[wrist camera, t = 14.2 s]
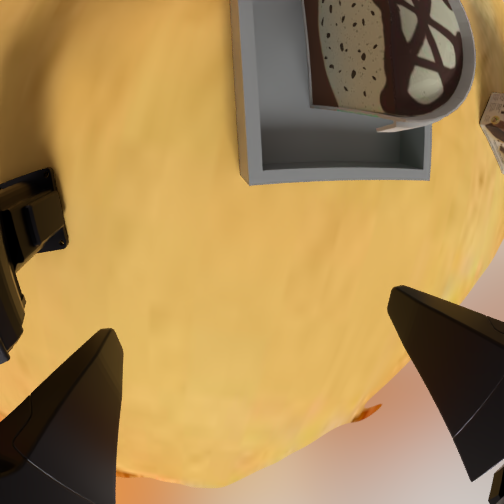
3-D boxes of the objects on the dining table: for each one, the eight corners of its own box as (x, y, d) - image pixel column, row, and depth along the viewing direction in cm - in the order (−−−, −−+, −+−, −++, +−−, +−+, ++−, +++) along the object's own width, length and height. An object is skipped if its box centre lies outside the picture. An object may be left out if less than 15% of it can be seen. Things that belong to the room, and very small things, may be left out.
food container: (383, 133, 18) (487, 151, 9) (310, 128, 17) (406, 135, 8) (369, -3, 13) (452, -42, 4) (298, -19, 12) (361, -88, 3)
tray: (240, 175, 19) (249, 185, 15) (227, -50, 11) (232, -77, 7) (398, 170, 21) (429, 180, 17) (380, -24, 12) (404, -38, 9)
